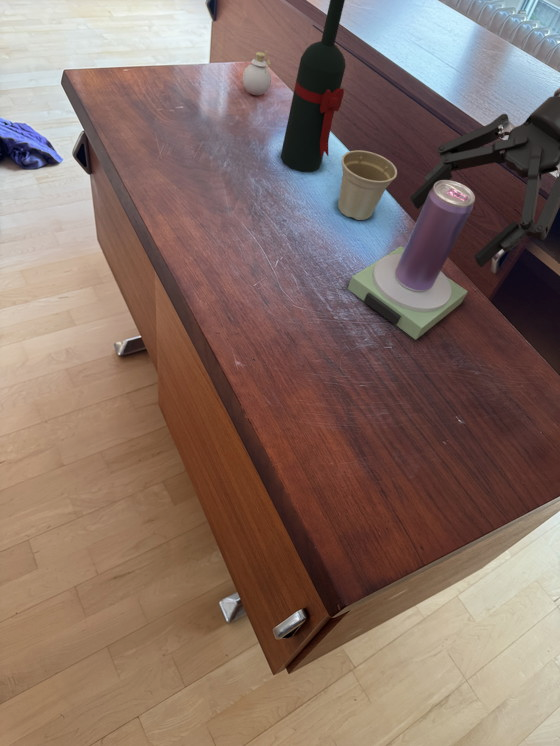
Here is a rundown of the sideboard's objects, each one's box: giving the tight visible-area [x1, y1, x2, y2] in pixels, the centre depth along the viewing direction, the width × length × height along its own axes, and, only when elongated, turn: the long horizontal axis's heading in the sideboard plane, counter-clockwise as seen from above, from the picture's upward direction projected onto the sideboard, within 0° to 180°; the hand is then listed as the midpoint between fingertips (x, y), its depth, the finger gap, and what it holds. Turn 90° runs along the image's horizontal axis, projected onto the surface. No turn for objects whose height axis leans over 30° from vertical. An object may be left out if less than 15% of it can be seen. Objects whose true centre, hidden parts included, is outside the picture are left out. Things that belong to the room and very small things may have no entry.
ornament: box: [242, 48, 272, 96], centre depth 117 cm, size 6×7×10 cm
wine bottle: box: [279, 0, 347, 173], centre depth 95 cm, size 8×10×30 cm
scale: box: [347, 245, 469, 340], centre depth 86 cm, size 13×14×3 cm
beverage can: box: [396, 179, 476, 292], centre depth 79 cm, size 6×6×15 cm
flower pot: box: [337, 149, 398, 221], centre depth 96 cm, size 9×9×9 cm
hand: (444, 231), depth 79 cm, fingers open, 13 cm apart
